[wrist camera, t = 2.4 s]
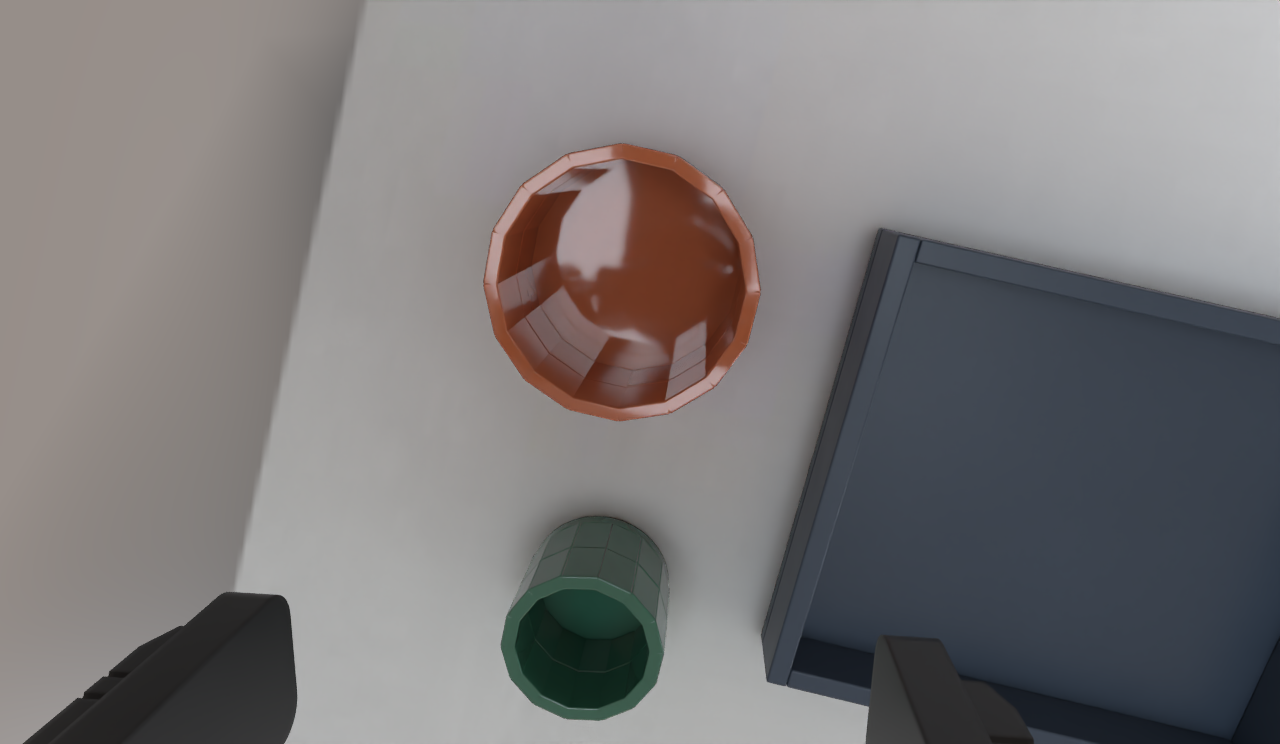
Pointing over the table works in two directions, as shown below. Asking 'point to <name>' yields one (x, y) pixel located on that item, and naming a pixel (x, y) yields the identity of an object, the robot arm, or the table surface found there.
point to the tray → (1045, 500)
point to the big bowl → (622, 282)
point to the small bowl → (589, 620)
